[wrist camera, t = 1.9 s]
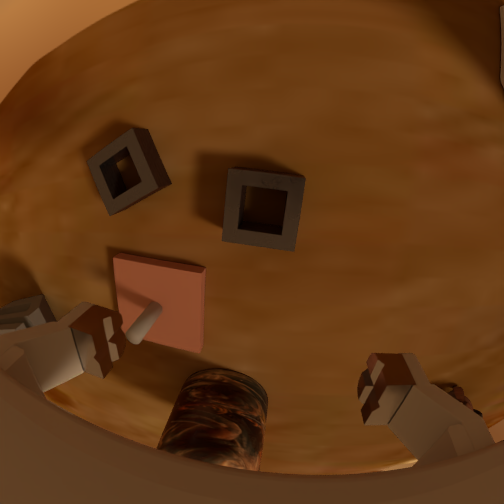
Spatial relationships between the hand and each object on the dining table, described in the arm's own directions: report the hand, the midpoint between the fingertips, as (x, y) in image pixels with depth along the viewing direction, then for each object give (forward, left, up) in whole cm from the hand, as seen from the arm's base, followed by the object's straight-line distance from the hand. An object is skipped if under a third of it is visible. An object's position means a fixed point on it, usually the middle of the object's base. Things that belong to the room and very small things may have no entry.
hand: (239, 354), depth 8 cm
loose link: (-3, -14, -18) cm, 23 cm away
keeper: (+11, -11, -18) cm, 24 cm away
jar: (+25, -3, -18) cm, 31 cm away
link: (-1, -1, -18) cm, 18 cm away
